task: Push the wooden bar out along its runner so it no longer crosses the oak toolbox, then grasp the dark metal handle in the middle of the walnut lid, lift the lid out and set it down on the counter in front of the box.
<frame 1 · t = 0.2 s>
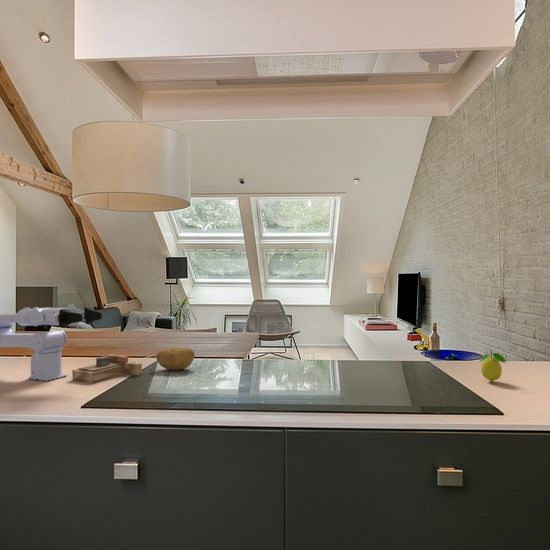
hand: (91, 316, 131), 21 cm above the countertop, tool horizontal, fingers open, 7 cm apart
wooden bar: (116, 358, 145), point 5 cm above the countertop, slide at 0.0 cm
lemon: (492, 382, 126), on the countertop
lid: (103, 367, 140), point 3 cm above the countertop, touching toolbox
toolbox: (103, 375, 140), on the countertop
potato: (175, 370, 148), on the countertop
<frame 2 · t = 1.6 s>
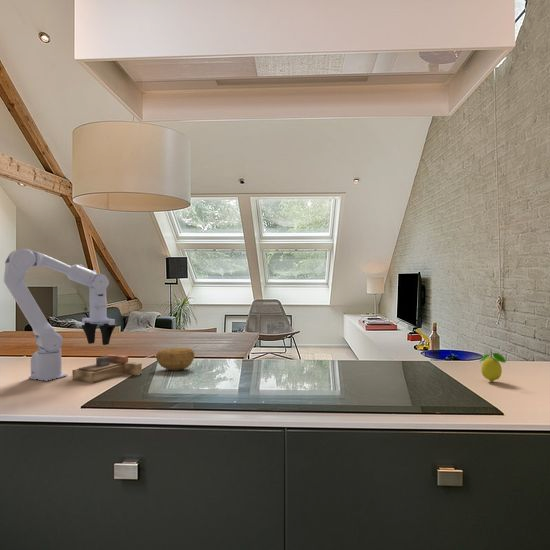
hand: (98, 344, 149), 9 cm above the countertop, tool pointing down, fingers open, 7 cm apart
nothing on the countertop moved.
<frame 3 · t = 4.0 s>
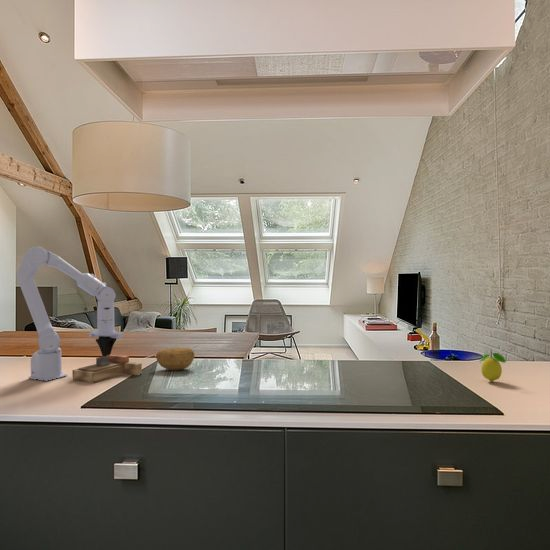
hand: (106, 357, 148), 5 cm above the countertop, tool pointing down, fingers closed
wooden bar: (117, 358, 145), point 5 cm above the countertop, slide at 0.3 cm, touching gripper
everything else where it was.
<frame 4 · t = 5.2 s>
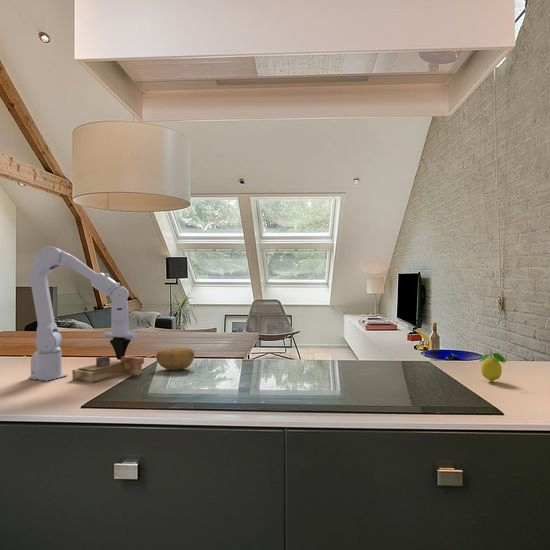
hand: (120, 359, 145), 5 cm above the countertop, tool pointing down, fingers closed
wooden bar: (132, 360, 142), point 5 cm above the countertop, slide at 7.3 cm, touching gripper
everything else where it was.
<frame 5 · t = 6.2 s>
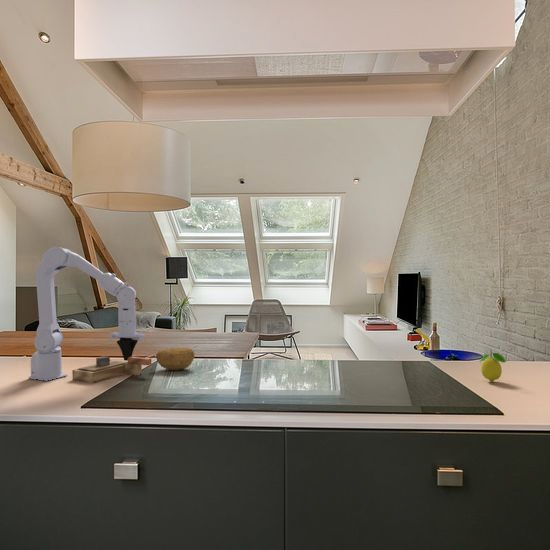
hand: (127, 359, 143), 5 cm above the countertop, tool pointing down, fingers closed
wooden bar: (139, 360, 141), point 5 cm above the countertop, slide at 10.6 cm, touching gripper
everything else where it was.
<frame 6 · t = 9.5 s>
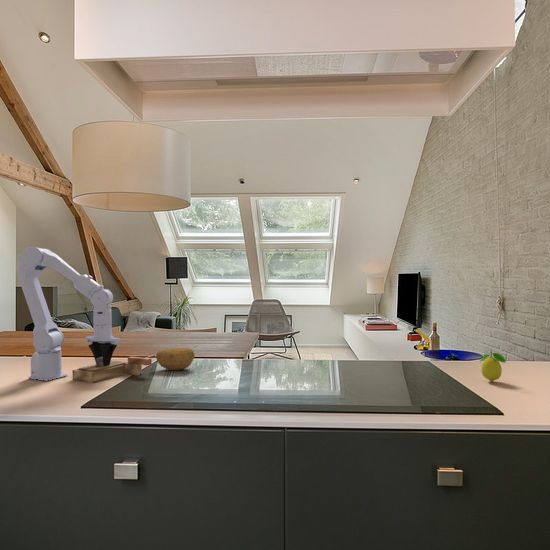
hand: (103, 364, 140), 4 cm above the countertop, tool pointing down, fingers closed on lid, 3 cm apart
wooden bar: (139, 360, 141), point 5 cm above the countertop, slide at 10.7 cm
lid: (103, 367, 140), point 3 cm above the countertop, touching gripper, toolbox
everything else where it was.
when the fingers open (2 cm above the countertop, at t = 15.5 s): lid drops 1 cm, on the countertop.
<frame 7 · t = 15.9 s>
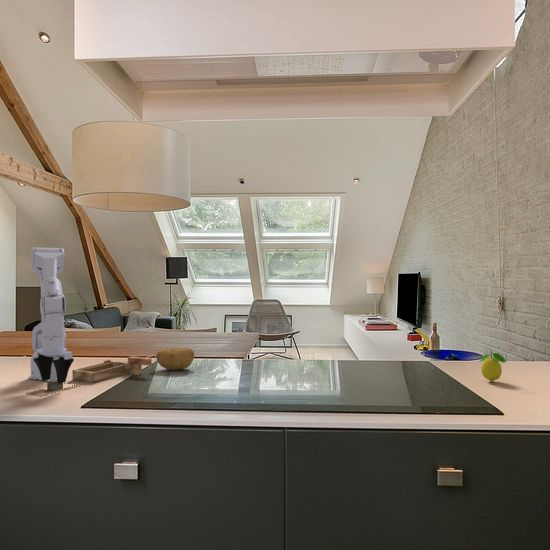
hand: (53, 381, 124), 2 cm above the countertop, tool pointing down, fingers open, 7 cm apart
lid: (55, 391, 124), on the countertop
everything else where it was.
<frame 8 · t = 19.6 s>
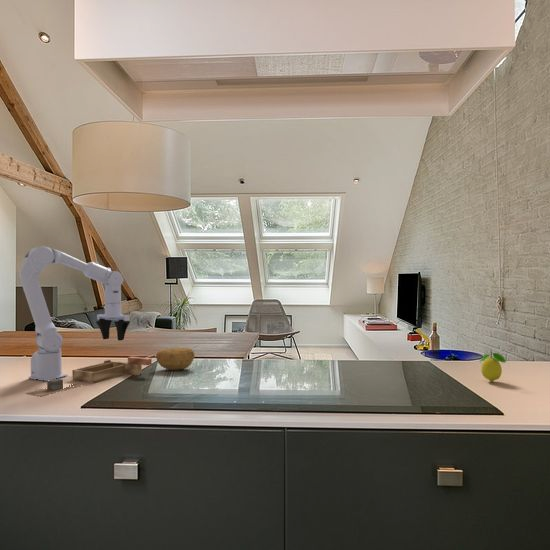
hand: (113, 339, 153), 10 cm above the countertop, tool pointing down, fingers open, 7 cm apart
nothing on the countertop moved.
at the end: wooden bar slide at 10.7 cm; lid inside the target area (0.3 cm from its centre), on the countertop; lid tilted 0° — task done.
